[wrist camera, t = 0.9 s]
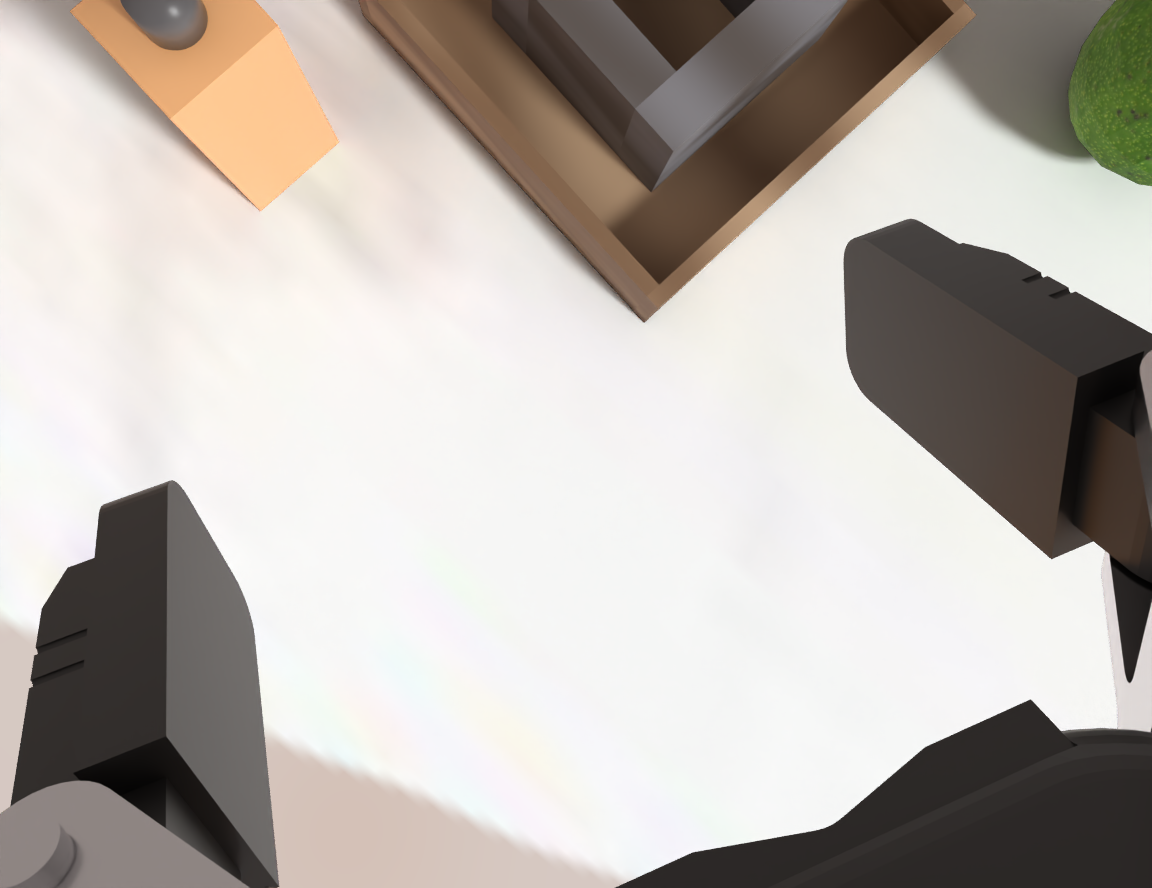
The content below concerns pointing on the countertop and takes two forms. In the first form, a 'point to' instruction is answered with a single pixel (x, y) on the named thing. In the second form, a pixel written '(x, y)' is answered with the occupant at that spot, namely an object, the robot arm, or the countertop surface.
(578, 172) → the walled tray
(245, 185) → the plug
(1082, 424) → the robot arm
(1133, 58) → the avocado
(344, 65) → the countertop surface
